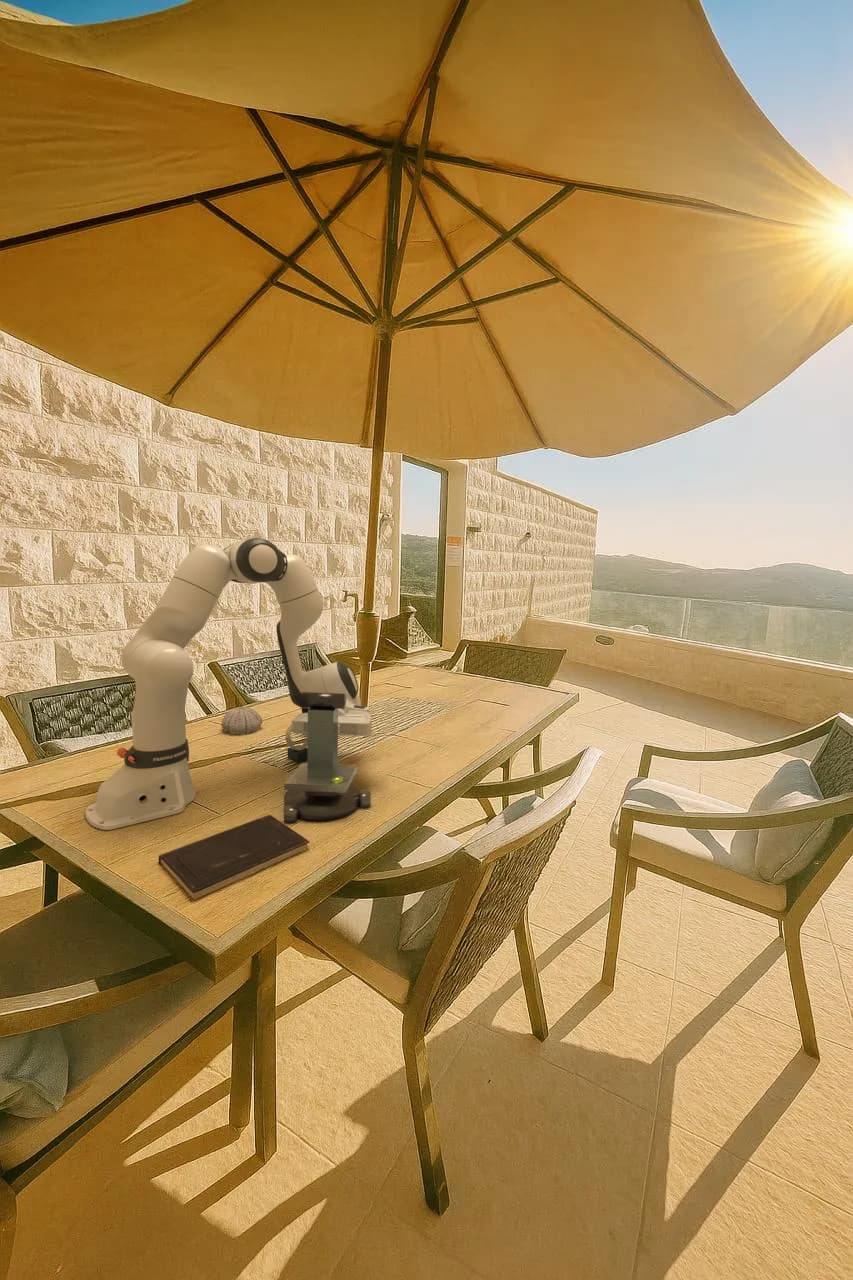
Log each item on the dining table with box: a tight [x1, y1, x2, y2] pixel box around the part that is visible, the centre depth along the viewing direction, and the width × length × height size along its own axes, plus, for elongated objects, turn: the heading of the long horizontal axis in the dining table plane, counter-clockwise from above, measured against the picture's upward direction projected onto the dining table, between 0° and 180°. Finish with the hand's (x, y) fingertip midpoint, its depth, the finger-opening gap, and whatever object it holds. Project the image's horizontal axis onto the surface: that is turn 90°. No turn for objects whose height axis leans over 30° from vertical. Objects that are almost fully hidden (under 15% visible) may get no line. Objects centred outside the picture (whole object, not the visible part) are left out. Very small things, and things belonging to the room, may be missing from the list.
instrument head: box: [283, 692, 358, 793], centre depth 120 cm, size 14×14×21 cm
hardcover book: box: [158, 814, 310, 900], centre depth 99 cm, size 16×23×2 cm
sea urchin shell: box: [220, 706, 263, 735], centre depth 173 cm, size 13×14×8 cm
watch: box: [284, 724, 308, 764], centre depth 148 cm, size 6×8×11 cm
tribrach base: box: [283, 781, 372, 825], centre depth 121 cm, size 20×21×6 cm
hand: (325, 734), depth 122 cm, fingers closed, pressing on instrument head
